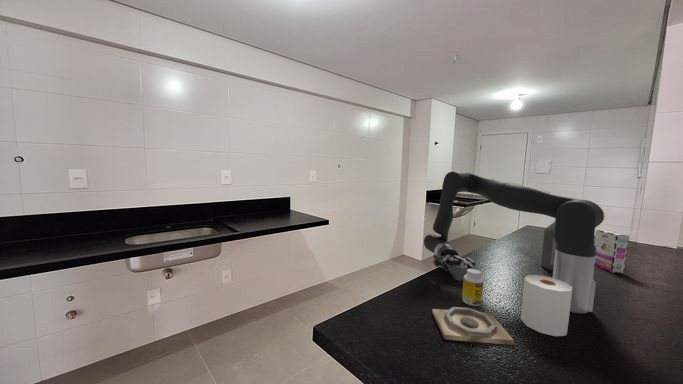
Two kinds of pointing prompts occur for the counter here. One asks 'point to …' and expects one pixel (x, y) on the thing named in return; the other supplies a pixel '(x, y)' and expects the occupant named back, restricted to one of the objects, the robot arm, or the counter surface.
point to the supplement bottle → (472, 287)
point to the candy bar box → (611, 250)
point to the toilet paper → (546, 304)
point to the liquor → (549, 248)
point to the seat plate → (470, 326)
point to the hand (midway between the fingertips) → (459, 269)
